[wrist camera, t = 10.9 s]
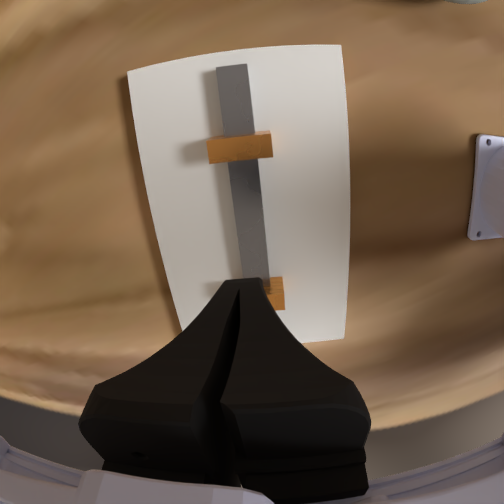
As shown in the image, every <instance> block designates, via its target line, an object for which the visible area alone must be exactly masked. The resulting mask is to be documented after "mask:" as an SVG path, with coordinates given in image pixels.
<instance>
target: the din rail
mask: <svg viewBox="0 0 504 504" xmlns="http://www.w3.org/2000/svg"><path fill="white" fill-rule="evenodd" d="M216 75H217V83H218V91H219V99H220V107H221V115H222V123H223V131H224V135H222V136H214V137H211V138H210V139H208V140H207V141H206V144H207V151H208V158H209V164H214V163H223V162H228V170H229V177H230V185H231V192H232V200H233V207H234V215H235V222H236V230H237V237H238V244H239V251H240V259H241V266H242V273H243V278H255V277H259V278H261V279H262V281H263V287H264V290H265V292H266V295H267V297H268V299H269V301H270V303H271V305H272V306H273V308H274V310H275V311H278V310H285V298H284V287H283V278H282V277H270V273H269V262H268V252H267V241H266V231H265V221H264V211H263V201H262V191H261V181H260V172H259V162H258V159H260V158H271V157H273V148H272V138H271V132H270V130H269V131H258V132H255V125H254V116H253V107H252V98H251V89H250V81H249V72H248V65H247V63H246V64H237V65H229V66H222V67H216Z"/></svg>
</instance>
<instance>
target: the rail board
mask: <svg viewBox="0 0 504 504" xmlns="http://www.w3.org/2000/svg"><path fill="white" fill-rule="evenodd" d="M246 63H247V65H248V72H249V81H250V89H251V98H252V107H253V116H254V125H255V132H258V131H269V130H270V132H271V138H272V148H273V157H271V158H260V159H258V162H259V172H260V181H261V191H262V201H263V211H264V221H265V231H266V241H267V252H268V262H269V273H270V277H282V278H283V287H284V298H285V310H278V311H276V313H277V315H278V316H279V318H280V319H281V320H282V322H283V323H284V325H285V326H286V327H287V328H288V330H289V331H290V332H291V333H292V334H293V336H294V337H295V338H296V339H297V340H298V341H299V342H300V343H308V342H318V341H327V340H336V339H344V333H345V321H346V308H347V293H348V275H349V251H350V158H349V134H348V117H347V102H346V90H345V79H344V69H343V59H342V51H341V45H290V46H273V47H260V48H250V49H240V50H232V51H224V52H217V53H211V54H205V55H199V56H193V57H188V58H183V59H178V60H173V61H168V62H164V63H159V64H155V65H151V66H147V67H143V68H139V69H135V70H131V71H128V72H127V74H128V82H129V90H130V97H131V104H132V111H133V118H134V124H135V131H136V137H137V142H138V148H139V154H140V159H141V165H142V170H143V175H144V180H145V185H146V190H147V195H148V200H149V204H150V209H151V213H152V218H153V222H154V227H155V231H156V235H157V239H158V244H159V248H160V252H161V256H162V260H163V264H164V267H165V271H166V275H167V279H168V283H169V286H170V290H171V294H172V297H173V301H174V304H175V308H176V311H177V315H178V318H179V321H180V325H181V328H182V331H183V330H184V329H185V328H186V327H187V326H188V325H189V324H190V323H191V322H192V321H193V320H194V319H195V318H196V317H197V315H198V314H199V313H200V312H201V311H202V310H203V308H204V307H205V306H206V305H207V303H208V302H209V301H210V300H211V298H212V297H213V296H214V294H215V293H216V291H217V290H218V289H219V287H220V286H221V285H222V283H223V282H224V281H225V280H229V279H242V278H243V273H242V266H241V259H240V251H239V244H238V237H237V230H236V222H235V215H234V207H233V200H232V192H231V185H230V177H229V170H228V162H223V163H214V164H209V158H208V151H207V144H206V141H207V140H208V139H210V138H211V137H214V136H222V135H224V131H223V123H222V115H221V107H220V99H219V91H218V83H217V75H216V67H222V66H229V65H237V64H246Z"/></svg>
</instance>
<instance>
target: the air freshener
mask: <svg viewBox="0 0 504 504" xmlns="http://www.w3.org/2000/svg"><path fill="white" fill-rule="evenodd" d="M444 1H448V2H453V3H459V4H476V3H481V2H485V1H487V0H444Z"/></svg>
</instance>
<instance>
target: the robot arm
mask: <svg viewBox="0 0 504 504" xmlns="http://www.w3.org/2000/svg"><path fill="white" fill-rule="evenodd" d="M487 139H488V144H486V141H487ZM478 231H479V233H478V234H477V232H478ZM467 236H468V238H470V239H471V240H482V239H492V238H502V237H503V238H504V137H501V136H493V135H485V134H479V135H478V136H477V139H476V158H475V174H474V186H473V196H472V204H471V212H470V219H469V226H468V233H467ZM78 425H79V429H80V431H81V433H82V435H83V436H84V438H85V439H86V440H87V441H88V443H90V445H91V446H92V447H93V448H94V449H95V450H96V451H97V452H98V453H99V455H100V456H101V457H102V458H103V459H104V460H105V461H104V464H103V467H102V470H94V469H92V470H88V471H86V472H85V471H81V470H77V469H74V468H70V467H67V466H63V465H61V464H57V463H54V462H51V461H48V460H46V459H42V458H40V457H37V456H34V455H32V454H29V453H27V452H24V451H21V450H19V449H17V448H14V447H12V446H9V444H8V443H7V442H6V440H5V439H4V438H3V437H1V436H0V504H504V433H503V434H502V436H501V437H500V438H498V439H495V440H493V441H491V442H489V443H487V444H484V445H482V446H480V447H477V448H475V449H472V450H470V451H467V452H465V453H462V454H460V455H457V456H454V457H451V458H448V459H446V460H442V461H439V462H436V463H433V464H430V465H427V466H424V467H421V468H417V469H413V470H410V471H406V472H402V473H398V474H395V475H390V476H386V477H382V478H377V479H372V480H368V479H367V473H366V468H365V462H366V454H365V450H364V445H365V442H366V440H367V437H368V434H369V431H370V428H371V419H370V414H369V412H368V409H367V407H366V404H365V402H364V400H363V398H362V396H361V394H360V392H359V391H358V389H357V387H356V386H355V384H354V382H353V381H351V380H350V379H348V378H346V377H344V376H343V375H341V374H339V373H337V372H336V371H334V370H332V369H331V368H330V367H328V366H327V365H325V364H324V363H323V362H321V361H320V360H319V359H318V358H317V357H315V356H314V355H313V354H312V353H311V352H310V351H308V350H307V349H306V348H305V347H304V346H303V345H302V344H301V343H300V342H299V341H298V340H297V339H296V338H295V337H294V336H293V334H292V333H291V332H290V331H289V330H288V328H287V327H286V326H285V325H284V323H283V322H282V320H281V319H280V318H279V316H278V315H277V313H276V311H275V310H274V308H273V306H272V305H271V303H270V301H269V299H268V297H267V295H266V292H265V290H264V287H263V281H262V279H261V278H259V277H255V278H242V279H229V280H225V281H224V282H223V283H222V285H221V286H220V287H219V289H218V290H217V291H216V293H215V294H214V296H213V297H212V298H211V300H210V301H209V302H208V303H207V305H206V306H205V307H204V308H203V310H202V311H201V312H200V313H199V314H198V315H197V317H196V318H195V319H194V320H193V321H192V322H191V323H190V324H189V325H188V326H187V327H186V328H185V329H184V330H183V331H182V332H181V333H180V334H179V335H178V336H177V337H176V338H174V339H173V340H172V341H171V342H170V343H168V344H167V345H166V346H164V347H163V348H162V349H160V350H159V351H158V352H156V353H155V354H153V355H152V356H151V357H149V358H148V359H146V360H145V361H143V362H141V363H140V364H138V365H136V366H135V367H133V368H131V369H129V370H127V371H125V372H123V373H122V374H119V375H117V376H115V377H113V378H111V379H108V380H106V381H104V382H102V383H99V384H97V385H95V387H94V388H93V390H92V392H91V394H90V396H89V399H88V401H87V403H86V405H85V408H84V410H83V412H82V415H81V417H80V419H79V423H78ZM241 485H242V487H243V488H241Z"/></svg>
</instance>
